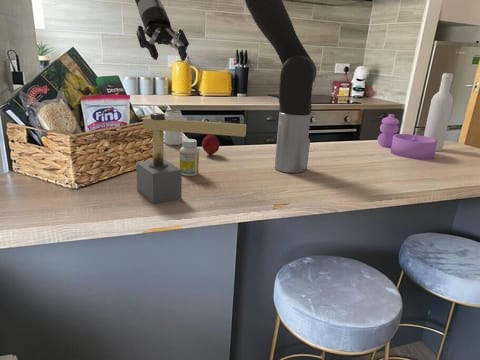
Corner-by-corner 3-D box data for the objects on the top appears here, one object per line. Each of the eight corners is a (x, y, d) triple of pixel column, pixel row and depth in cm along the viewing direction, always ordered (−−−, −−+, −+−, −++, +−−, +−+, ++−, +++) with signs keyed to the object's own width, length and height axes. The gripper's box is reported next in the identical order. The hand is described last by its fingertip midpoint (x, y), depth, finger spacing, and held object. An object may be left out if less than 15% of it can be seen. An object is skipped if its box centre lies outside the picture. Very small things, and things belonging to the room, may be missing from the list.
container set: (442, 158, 142) (450, 123, 138) (412, 161, 136) (419, 124, 132) (393, 143, 164) (399, 112, 160) (365, 144, 158) (370, 113, 154)
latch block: (163, 185, 97) (163, 158, 95) (181, 198, 90) (181, 169, 87) (137, 189, 93) (136, 161, 91) (153, 203, 86) (152, 172, 83)
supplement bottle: (188, 177, 104) (188, 143, 101) (175, 173, 108) (175, 139, 104) (202, 173, 108) (203, 140, 105) (189, 169, 111) (190, 137, 108)
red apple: (222, 154, 130) (223, 131, 127) (213, 158, 125) (214, 134, 122) (207, 152, 132) (207, 129, 129) (198, 155, 127) (199, 132, 124)
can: (184, 142, 144) (184, 110, 140) (179, 146, 138) (179, 113, 134) (167, 141, 145) (167, 109, 141) (162, 144, 138) (162, 111, 135)
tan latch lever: (243, 170, 89) (246, 119, 85) (242, 174, 86) (245, 121, 82) (148, 162, 91) (147, 112, 87) (143, 166, 88) (142, 114, 84)
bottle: (426, 145, 162) (442, 72, 152) (445, 150, 156) (463, 74, 147) (417, 148, 157) (433, 72, 147) (436, 152, 151) (454, 74, 142)
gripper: (133, 2, 105) (150, 47, 100) (179, 8, 113) (197, 50, 108) (127, 23, 111) (143, 67, 106) (172, 27, 119) (188, 68, 114)
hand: (170, 58), depth 107 cm, fingers open, 8 cm apart
